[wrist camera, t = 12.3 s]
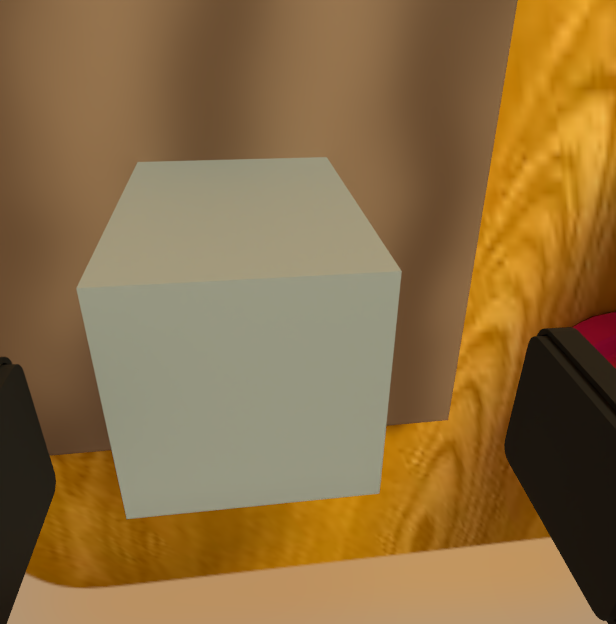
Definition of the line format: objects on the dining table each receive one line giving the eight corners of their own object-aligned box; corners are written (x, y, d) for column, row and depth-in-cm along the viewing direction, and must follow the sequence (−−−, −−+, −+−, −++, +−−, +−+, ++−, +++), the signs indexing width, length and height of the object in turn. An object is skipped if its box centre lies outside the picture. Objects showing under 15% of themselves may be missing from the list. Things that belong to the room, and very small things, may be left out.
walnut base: (487, -46, 17) (526, -51, 15) (428, 382, 25) (448, 420, 23) (-83, -54, 15) (-134, -62, 13) (49, 413, 23) (32, 456, 21)
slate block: (326, 157, 17) (401, 271, 10) (322, 316, 19) (379, 493, 13) (137, 161, 16) (76, 288, 9) (160, 326, 19) (126, 519, 12)
